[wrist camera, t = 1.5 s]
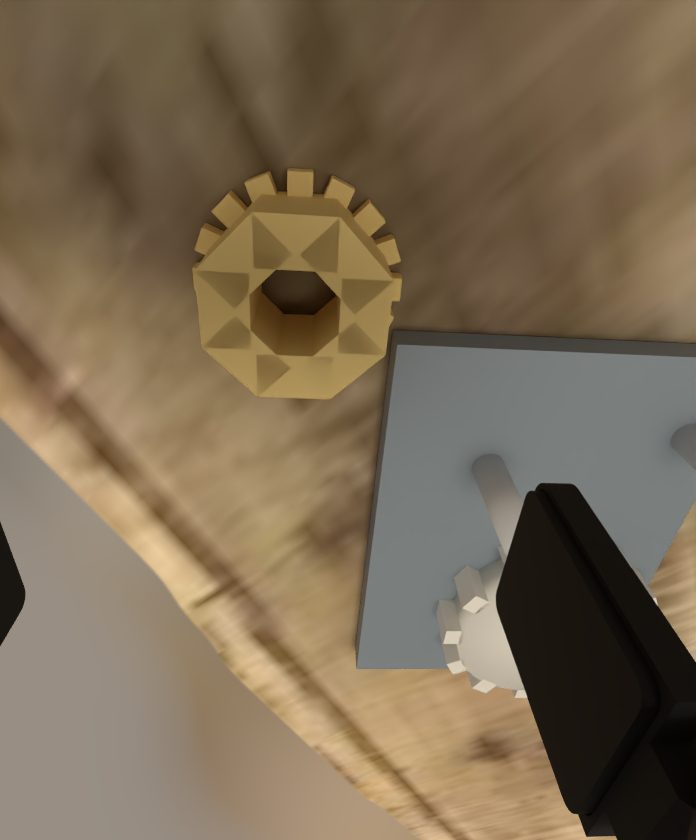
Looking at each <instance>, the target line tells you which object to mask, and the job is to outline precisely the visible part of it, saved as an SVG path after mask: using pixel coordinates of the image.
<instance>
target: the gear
mask: <svg viewBox="0 0 696 840" xmlns="http://www.w3.org/2000/svg"><path fill="white" fill-rule="evenodd" d="M313 177H314V170H313V169H298V168H288V170H287V192H282V191H277V188H276V185H275V183H274V180H273V177H272V175H271V172H270V171H268V172H265V173H263V174H260V175H258V176H255V177H252V178H250V179H247V180H246V181H245V182H244V184H245V186H246V189H247V191H248V194H249V196H250V198H251V201H252V204H251V205H250V206H249V207H247V206H246V205H245V204H244V203H243V202H242V200H241V199H240V198H239V197H238V196H237V195H236V194H235V193H234V192H233V191H232V190H231V191H230V192H229V193H228V194H227V195H226V196H225V197H224V199H223V200H222V201H221V202H220V203H219V204H218V205H217V206H216V207H215V208H214V209H213V210H212V211H211V212H212V213H213V214H214V215H215V216H216V217H217V218H218V219H219V220H220V221H221V222H222V223H223V224H224V225H225V226H226V227H227V229H226V230H225V231H223V230H220V229H218V228H216V227H214V226H212V225H210V224H208V223H205V224H204V226H203V227H202V229H201V232H200V235H199V238H198V241H197V244H196V247H195V251H197V252H199V253H202V254H204V255H205V256H204V258H203V259H202V260H201V262H196V264H195V265H194V266H193V268H192V270H193V281H194V291H196V294H197V305H198V316H199V327H200V338H201V348H202V349H204V350H205V351H206V352H207V353H208V354H209V355H210V356H212V357H213V358H214V359H215V360H216V361H217V362H219V363H220V364H221V365H222V366H223V367H224V368H225V369H227V370H228V371H229V372H230V373H231V374H232V375H233V376H235V377H236V378H237V379H238V380H239V381H240V382H241V383H243V384H244V385H245V386H246V387H247V388H248V389H249V390H251V391H252V392H253V393H254V394H255V395H256V396H257V397H279V398H308V399H331V398H332V397H334V396H335V395H336V394H337V393H339V392H340V391H341V390H342V389H344V388H345V387H346V386H348V385H349V384H350V383H351V382H353V381H354V380H355V379H356V378H358V377H359V376H360V375H361V374H363V373H364V372H365V371H366V370H368V369H369V368H370V367H371V366H373V365H374V364H375V363H376V362H378V361H379V360H380V359H382V358H383V357H384V356H385V355H386V348H387V339H388V331H389V326H390V324H391V322H392V320H393V319H394V314H393V311H392V310H391V304H392V301H400V294H401V286H402V277H401V275H400V273H393V272H391V271H390V269H389V266H390V265H392V264H395V263H398V262H401V260H400V256H399V253H398V249H397V246H396V242H395V239H394V237H393V235H392V234H389V235H387V236H384V237H381V238H378V239H375V240H374V239H373V238H372V237H371V235H372V234H373V233H374V232H376V231H377V230H378V229H379V228H380V227H381V226H382V225H383V224H384V223H386V221H385V219H384V217H383V216H382V215H381V213H380V212H379V211H378V210H377V208H376V207H375V206H374V205H373V203H372V202H371V201H370V200H369V199H368V200H366V201H365V202H364V203H363V204H362V205H361V206H360V207H359V208H358V209H357V210H356V211H355V212H354V213H353V214H352V213H351V211H350V210H349V209H348V208H347V207H348V205H349V203H350V201H351V198H352V196H353V194H354V192H355V188H354V186H352V185H350V184H348V183H346V182H345V181H343V180H341V179H339V178H337V177H335V176H333V175H332V176H331V178H330V181H329V183H328V185H327V187H326V190H325V192H324V194H313ZM275 270H295V271H314V272H316V273H317V274H318V275H319V276H320V277H321V278H322V280H323V281H324V282H325V283H326V284H327V285H328V286H329V287H330V288H331V289H332V290H333V291H334V293H335V294H336V296H335V297H334V298H333V299H332V300H331V301H329V302H328V303H327V304H326V305H325V306H324V307H323V308H321V309H320V310H319V311H318V312H317V313H316V314H315V315H298V314H283V313H282V312H281V311H280V310H279V309H278V308H277V307H276V306H275V305H274V304H273V303H272V302H271V301H270V300H269V299H268V298H267V297H266V296H265V295H264V294H263V293H262V282H263V281H265V280H266V279H267V278H268V277H269V276H270V275H271V274H272V273H273V272H274V271H275Z"/></svg>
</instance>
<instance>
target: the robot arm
mask: <svg viewBox="0 0 696 840" xmlns="http://www.w3.org/2000/svg"><path fill="white" fill-rule="evenodd" d="M24 601H25V588H24V585H23V582H22V580H21V577H20V574H19V571H18V569H17V566H16V563H15V561H14V558H13V555H12V552H11V550H10V547H9V544H8V542H7V539H6V536H5V533H4V531H3V528H2V525H1V523H0V646H1V644H2V642H3V641H4V639H5V637H6V636H7V634H8V632H9V630H10V628H11V627H12V625H13V624H14V622H15V620H16V619H17V617H18V615H19V613H20V612H21V610H22V608H23V605H24ZM496 608H497V612H498V615H499V618H500V621H501V624H502V627H503V629H504V632H505V635H506V638H507V641H508V644H509V647H510V649H511V652H512V655H513V658H514V661H515V664H516V666H517V669H518V672H519V675H520V678H521V681H522V684H523V686H524V689H525V692H526V695H527V698H528V701H529V703H530V706H531V709H532V712H533V715H534V718H535V721H536V723H537V726H538V729H539V732H540V735H541V738H542V740H543V743H544V746H545V749H546V752H547V755H548V758H549V760H550V763H551V766H552V769H553V772H554V775H555V778H556V780H557V783H558V786H559V789H560V792H561V795H562V797H563V800H564V802H565V805H566V806H567V808H568V810H569V811H570V812H571V813H573V814H578V815H579V818H580V820H581V823H582V826H583V829H584V831H585V834H586V837H594V836H616V838H617V840H696V662H695V660H694V659H693V658H692V656H691V655H690V653H689V652H688V650H687V649H686V647H685V646H684V644H683V643H682V641H681V640H680V638H679V637H678V635H677V634H676V632H675V631H674V629H673V628H672V626H671V625H670V623H669V622H668V621H667V619H666V618H665V616H664V615H663V613H662V612H661V610H660V609H659V607H658V606H657V604H656V603H655V601H654V600H653V598H652V597H651V595H650V594H649V592H648V591H647V589H646V588H645V586H644V585H643V583H642V582H641V581H640V579H639V578H638V576H637V575H636V573H635V572H634V570H633V569H632V568H631V566H630V565H629V563H628V562H627V560H626V559H625V557H624V556H623V554H622V553H621V552H620V550H619V549H618V547H617V546H616V544H615V543H614V541H613V540H612V538H611V537H610V535H609V534H608V532H607V531H606V529H605V528H604V526H603V525H602V523H601V522H600V520H599V519H598V517H597V516H596V514H595V513H594V511H593V510H592V509H591V507H590V506H589V504H588V503H587V501H586V500H585V498H584V497H583V495H582V494H581V492H580V491H579V489H578V488H577V487H576V486H575V485H573V484H570V483H540V484H539V485H538V486H537V487H536V489H535V491H529V492H528V493H527V494H526V497H525V500H524V503H523V506H522V509H521V513H520V516H519V519H518V522H517V526H516V529H515V532H514V535H513V539H512V542H511V545H510V549H509V552H508V555H507V558H506V562H505V565H504V568H503V571H502V575H501V578H500V581H499V584H498V588H497V591H496Z"/></svg>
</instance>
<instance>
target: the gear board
mask: <svg viewBox="0 0 696 840" xmlns="http://www.w3.org/2000/svg"><path fill="white" fill-rule="evenodd" d="M540 483H570V484H573V485H575V486H576V487H577V488H578V489H579V491H580V492H581V494H582V495H583V497H584V498H585V500H586V501H587V503H588V504H589V506H590V507H591V509H592V510H593V511H594V513H595V514H596V516H597V517H598V519H599V520H600V522H601V523H602V525H603V526H604V528H605V529H606V531H607V532H608V534H609V535H610V537H611V538H612V540H613V541H614V543H615V544H616V546H617V547H618V549H619V550H620V552H621V553H622V554H623V556H624V557H625V559H626V560H627V562H628V563H629V565H630V566H631V568H632V569H633V570H634V572H635V573H636V575H637V576H638V578H639V579H640V581H641V582H642V583H643V585H644V586H645V588H646V589H647V591H648V592H649V594H650V595H651V597H652V598H653V600H654V601H655V603H656V604H657V600H656V597H655V595H654V594H653V592H652V591H651V589H650V588H649V586H648V585H649V583H650V581H651V580H652V578H653V576H654V574H655V572H656V570H657V569H658V567H659V565H660V563H661V561H662V560H663V558H664V556H665V554H666V552H667V550H668V549H669V547H670V545H671V543H672V541H673V539H674V538H675V536H676V534H677V532H678V530H679V528H680V527H681V525H682V523H683V521H684V519H685V518H686V516H687V514H688V512H689V510H690V508H691V507H692V505H693V503H694V501H695V499H696V344H690V343H668V342H645V341H623V340H601V339H579V338H557V337H534V336H512V335H490V334H468V333H446V332H423V331H401V330H393V334H392V342H391V350H390V359H389V367H388V376H387V384H386V393H385V401H384V409H383V418H382V426H381V435H380V443H379V452H378V460H377V468H376V477H375V485H374V494H373V502H372V511H371V519H370V528H369V536H368V544H367V553H366V561H365V570H364V578H363V587H362V595H361V603H360V612H359V620H358V629H357V637H356V646H355V651H356V667H357V669H450V670H451V672H452V673H453V674H456V673H459V672H462V671H466V670H467V671H468V674H469V678H470V682H471V686H472V688H473V689H476V690H479V691H481V692H484V693H487V692H488V691H490V690H491V689H492V688H494V687H495V686H496V687H501V688H506V689H512V691H513V694H514V697H515V698H527V695H526V692H525V689H524V686H523V684H522V681H521V678H520V675H519V672H518V669H517V666H516V664H515V661H514V658H513V655H512V652H511V649H510V647H509V644H508V641H507V638H506V635H505V632H504V629H503V627H502V624H501V621H500V618H499V615H498V612H497V608H496V591H497V588H498V584H499V581H500V578H501V575H502V571H503V568H504V565H505V562H506V558H507V555H508V552H509V549H510V545H511V542H512V539H513V535H514V532H515V529H516V526H517V522H518V519H519V516H520V513H521V509H522V506H523V503H524V500H525V497H526V494H527V493H528V492H529V491H535V489H536V487H537V486H538V485H539V484H540ZM657 606H658V604H657Z"/></svg>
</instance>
